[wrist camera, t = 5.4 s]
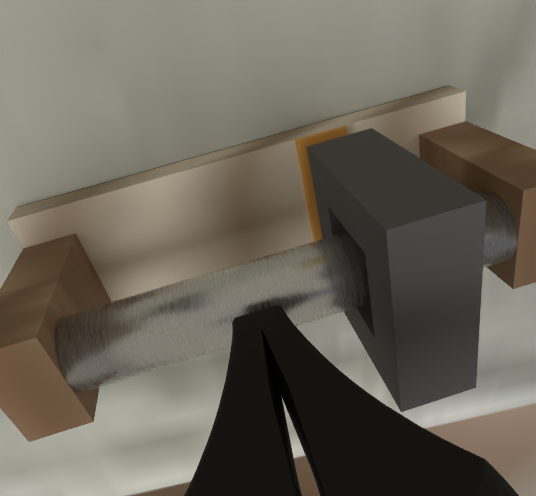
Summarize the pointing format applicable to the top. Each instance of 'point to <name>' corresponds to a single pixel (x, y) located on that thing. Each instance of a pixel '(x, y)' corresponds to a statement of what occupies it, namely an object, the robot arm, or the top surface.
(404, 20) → the top surface
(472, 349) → the collar
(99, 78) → the top surface
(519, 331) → the top surface
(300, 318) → the pipe stand
